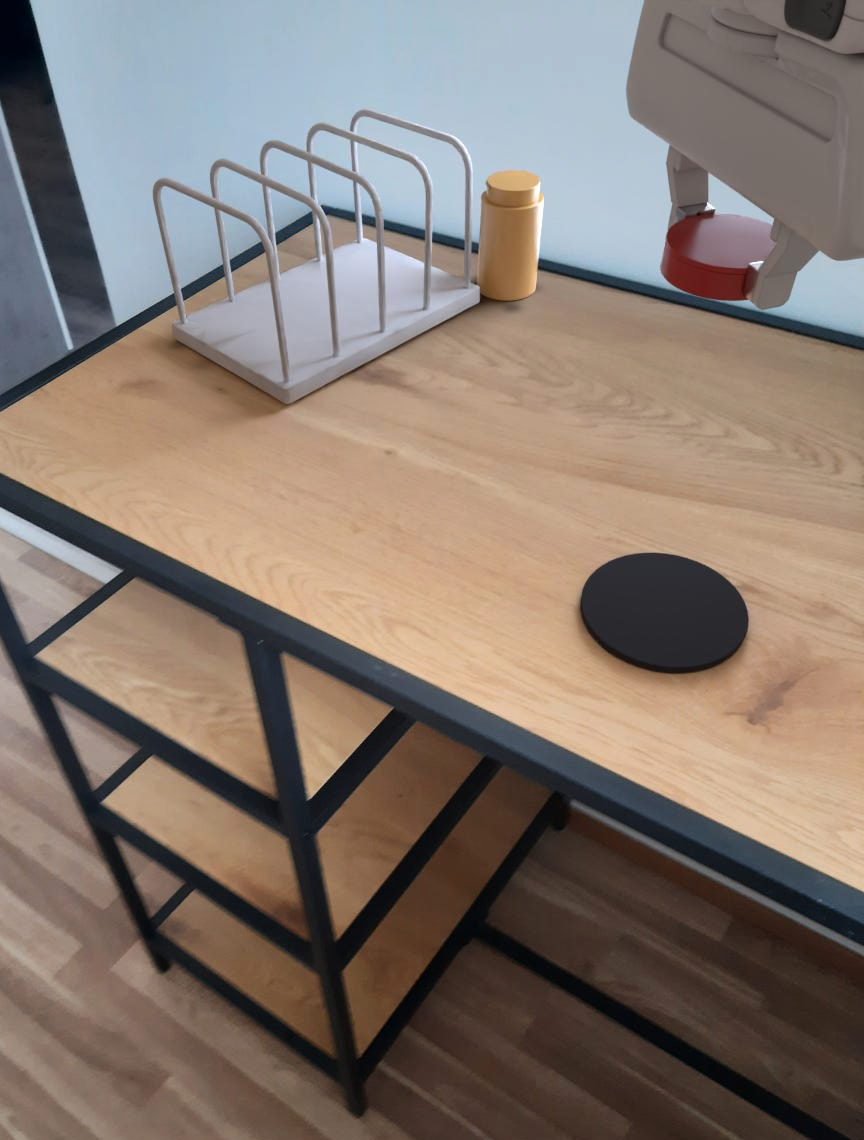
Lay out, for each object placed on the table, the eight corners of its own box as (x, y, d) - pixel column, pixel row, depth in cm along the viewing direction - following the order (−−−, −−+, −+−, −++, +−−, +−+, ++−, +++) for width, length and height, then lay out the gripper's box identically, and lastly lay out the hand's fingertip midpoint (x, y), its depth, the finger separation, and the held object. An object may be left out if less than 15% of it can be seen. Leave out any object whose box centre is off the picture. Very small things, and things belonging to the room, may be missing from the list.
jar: (520, 269, 98) (528, 164, 91) (545, 294, 95) (556, 186, 87) (467, 279, 97) (471, 173, 90) (491, 305, 93) (497, 197, 86)
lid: (657, 295, 47) (664, 263, 46) (662, 241, 52) (668, 209, 50) (787, 306, 46) (797, 273, 45) (780, 249, 50) (789, 217, 49)
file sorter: (362, 253, 102) (354, 95, 91) (481, 306, 93) (489, 138, 82) (172, 339, 91) (137, 170, 79) (287, 409, 82) (266, 229, 70)
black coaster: (693, 544, 68) (695, 538, 68) (780, 650, 61) (782, 644, 60) (553, 578, 66) (554, 571, 66) (626, 691, 59) (627, 685, 58)
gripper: (619, -94, 45) (582, 201, 55) (895, 13, 31) (779, 378, 42) (736, -105, 46) (679, 186, 56) (1051, -7, 33) (901, 353, 43)
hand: (723, 269), depth 49 cm, fingers closed on lid, 6 cm apart
